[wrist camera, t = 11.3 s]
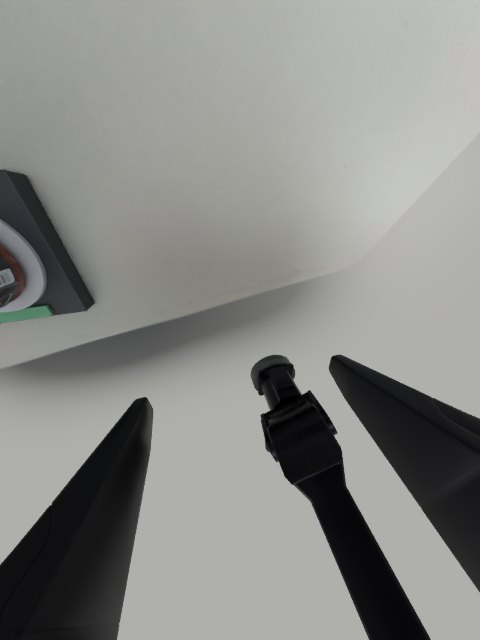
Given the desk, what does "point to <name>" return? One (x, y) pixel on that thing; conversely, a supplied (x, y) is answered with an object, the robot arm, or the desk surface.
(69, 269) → the scale
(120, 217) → the desk surface
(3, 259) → the supplement bottle
